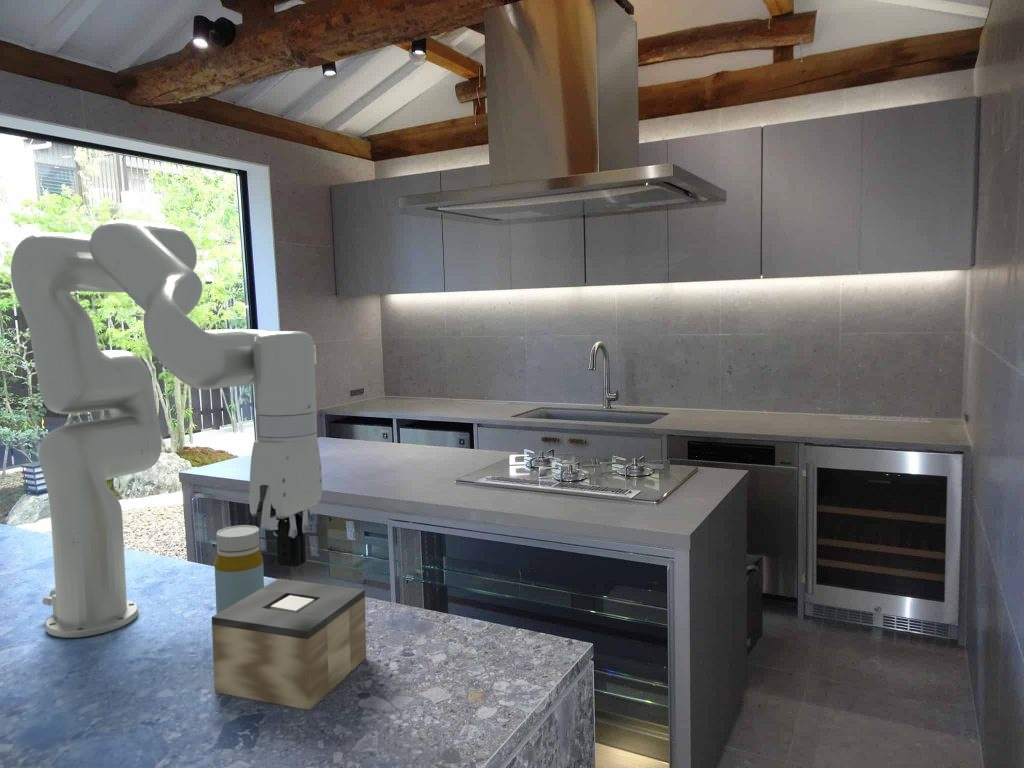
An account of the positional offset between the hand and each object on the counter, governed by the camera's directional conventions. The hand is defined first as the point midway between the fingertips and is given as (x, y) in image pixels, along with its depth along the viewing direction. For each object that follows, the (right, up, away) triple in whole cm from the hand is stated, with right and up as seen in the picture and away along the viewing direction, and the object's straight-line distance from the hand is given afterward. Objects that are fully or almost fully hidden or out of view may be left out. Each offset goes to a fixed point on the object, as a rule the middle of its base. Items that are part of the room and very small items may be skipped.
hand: (291, 563), depth 95 cm
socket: (0, -15, +2) cm, 15 cm away
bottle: (-13, -14, +17) cm, 26 cm away
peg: (0, -15, +2) cm, 15 cm away
